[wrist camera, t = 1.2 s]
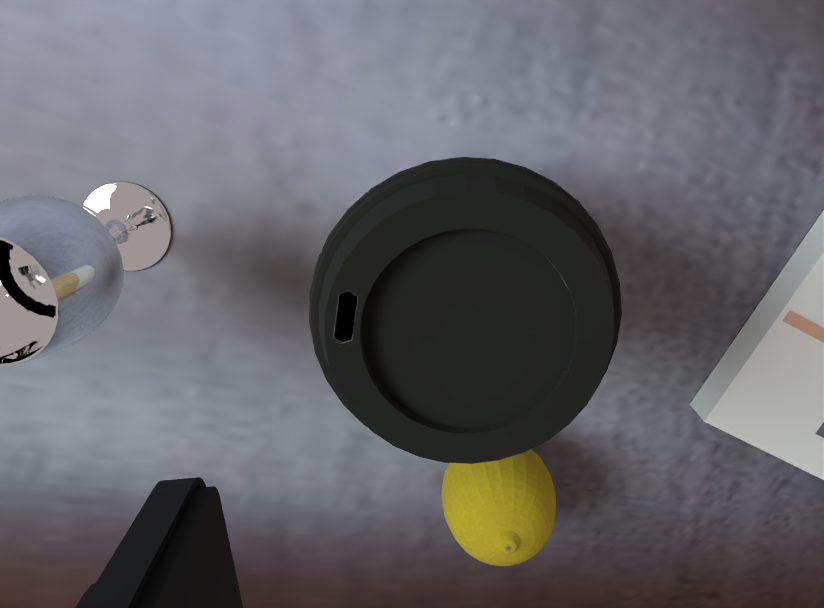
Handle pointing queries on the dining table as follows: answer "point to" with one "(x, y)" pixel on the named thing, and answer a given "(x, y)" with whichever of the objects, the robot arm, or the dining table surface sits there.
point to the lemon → (500, 507)
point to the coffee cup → (465, 309)
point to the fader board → (777, 366)
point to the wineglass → (71, 264)
